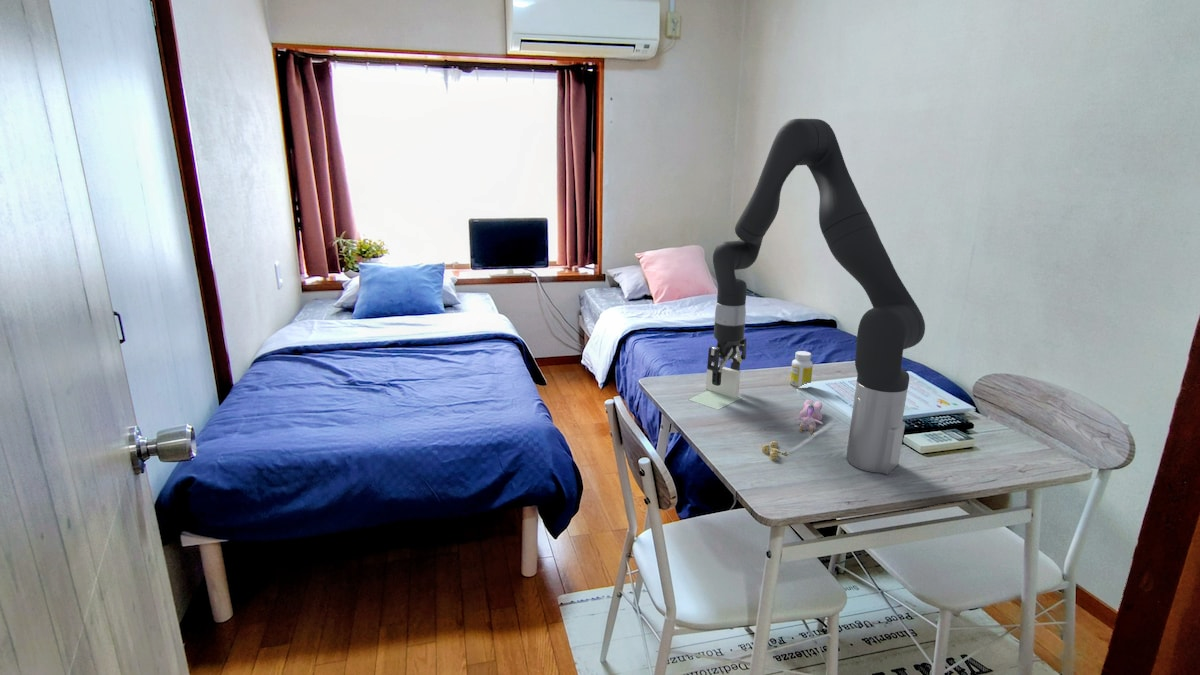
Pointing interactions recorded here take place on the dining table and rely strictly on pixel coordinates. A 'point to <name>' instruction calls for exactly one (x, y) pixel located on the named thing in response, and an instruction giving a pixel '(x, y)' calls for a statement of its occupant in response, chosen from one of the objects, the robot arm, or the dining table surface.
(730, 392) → the tile
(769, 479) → the dining table surface
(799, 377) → the supplement bottle
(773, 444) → the yellow speckled pebbles
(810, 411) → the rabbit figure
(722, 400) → the mat
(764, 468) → the dining table surface
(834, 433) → the dining table surface
